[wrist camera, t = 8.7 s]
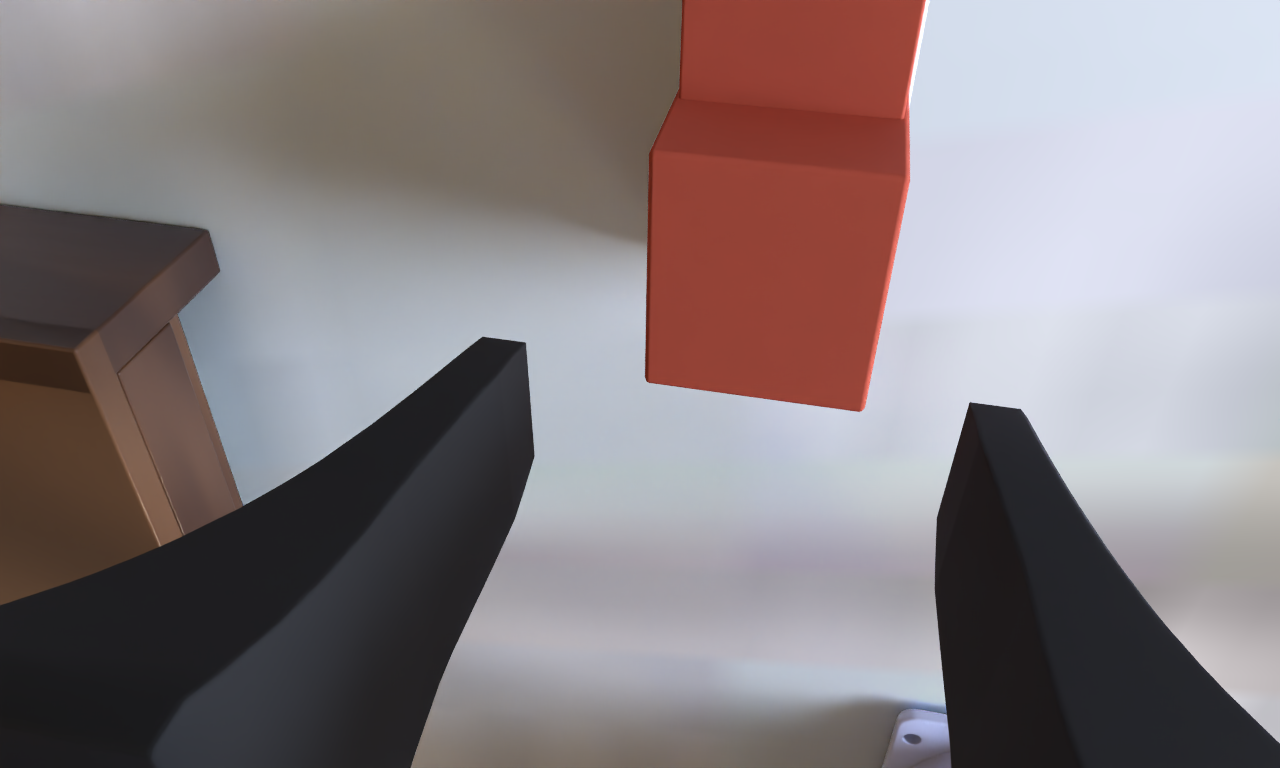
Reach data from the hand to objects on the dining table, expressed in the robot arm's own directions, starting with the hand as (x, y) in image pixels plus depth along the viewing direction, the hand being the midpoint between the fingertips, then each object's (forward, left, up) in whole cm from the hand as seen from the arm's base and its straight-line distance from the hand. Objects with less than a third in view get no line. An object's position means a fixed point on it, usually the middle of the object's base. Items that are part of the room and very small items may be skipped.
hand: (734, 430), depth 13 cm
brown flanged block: (-10, +17, -8) cm, 22 cm away
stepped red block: (+1, 0, -8) cm, 8 cm away
